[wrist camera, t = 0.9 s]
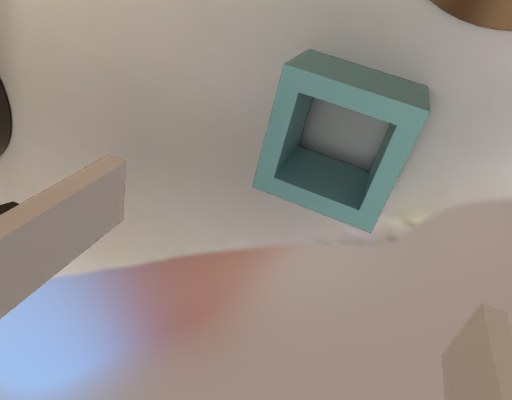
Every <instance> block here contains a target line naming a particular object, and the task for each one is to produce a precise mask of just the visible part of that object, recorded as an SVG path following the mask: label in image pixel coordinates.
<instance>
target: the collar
mask: <svg viewBox="0 0 512 400" xmlns="http://www.w3.org/2000/svg"><path fill="white" fill-rule="evenodd" d="M313 97H314V98H317V99H320V100H323V101H326V102H329V103H332V104H335V105H338V106H341V107H344V108H347V109H350V110H353V111H356V112H359V113H362V114H365V115H368V116H371V117H374V118H377V119H380V120H383V121H385V122H388V123H390V126H389V128H388V130H387V133H386V135H385V137H384V140H383V142H382V144H381V146H380V149H379V151H378V153H377V156H376V158H375V160H374V163H373V165H372V167H371V169H370V172H368V171H366V170H363V169H360V168H357V167H355V166H352V165H349V164H346V163H344V162H341V161H338V160H335V159H333V158H330V157H327V156H324V155H322V154H319V153H316V152H313V151H311V150H308V149H305V148H302V147H299V146H298V143H299V140H300V137H301V134H302V130H303V127H304V124H305V121H306V117H307V114H308V111H309V108H310V105H311V101H312V98H313ZM429 113H430V106H429V95H428V86H424V85H421V84H418V83H415V82H412V81H409V80H405V79H402V78H399V77H396V76H393V75H389V74H386V73H383V72H380V71H377V70H374V69H370V68H367V67H364V66H361V65H358V64H354V63H351V62H348V61H345V60H342V59H339V58H335V57H332V56H329V55H326V54H323V53H320V52H316V51H313V50H310V49H309V50H307V51H305V52H303V53H302V54H300V55H298V56H297V57H295V58H293V59H292V60H290V61H288V62H286V63H285V64H284V66H283V69H282V73H281V77H280V81H279V85H278V89H277V93H276V97H275V100H274V104H273V108H272V112H271V116H270V120H269V124H268V128H267V131H266V135H265V139H264V143H263V147H262V151H261V155H260V158H259V162H258V166H257V170H256V174H255V178H254V182H253V186H252V187H254V188H256V189H259V190H261V191H264V192H266V193H269V194H272V195H274V196H277V197H279V198H282V199H284V200H287V201H289V202H292V203H295V204H297V205H300V206H302V207H305V208H307V209H310V210H313V211H315V212H318V213H320V214H323V215H325V216H328V217H330V218H333V219H336V220H338V221H341V222H343V223H346V224H348V225H351V226H353V227H356V228H359V229H361V230H364V231H366V232H369V233H371V232H372V230H373V228H374V226H375V224H376V222H377V220H378V218H379V216H380V214H381V212H382V210H383V208H384V206H385V203H386V201H387V199H388V197H389V195H390V193H391V191H392V189H393V187H394V185H395V183H396V181H397V179H398V177H399V175H400V172H401V170H402V168H403V166H404V164H405V162H406V160H407V158H408V156H409V154H410V152H411V150H412V148H413V146H414V144H415V141H416V139H417V137H418V135H419V133H420V131H421V129H422V127H423V125H424V123H425V121H426V119H427V117H428V115H429Z"/></svg>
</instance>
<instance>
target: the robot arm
mask: <svg viewBox="0 0 512 400" xmlns="http://www.w3.org/2000/svg"><path fill="white" fill-rule="evenodd" d="M9 136H10V113H9V107H8V103H7V99H6V96H5V93H4V90H3V87H2V85H1V83H0V155H1V154H2V152H3V151H4V150H5V148H6V146H7V144H8V141H9ZM125 173H126V161H123V160H121V159H118V158H116V157H113V156H110V155H107V156H106V157H104V158H102V159H100V160H98V161H97V162H95V163H93V164H91V165H89V166H88V167H86V168H84V169H82V170H80V171H79V172H77V173H75V174H73V175H71V176H70V177H68V178H66V179H64V180H62V181H61V182H59V183H57V184H55V185H53V186H52V187H50V188H48V189H46V190H44V191H43V192H41V193H39V194H37V195H35V196H34V197H32V198H30V199H28V200H26V201H25V202H23V203H21V204H18V203H16V202H10V203H6V204H2V205H0V319H1V318H2V317H3V316H5V315H6V314H7V313H8V312H9V311H10V310H12V309H13V308H14V307H16V306H17V305H18V304H19V303H21V302H22V301H23V300H24V299H26V298H27V297H28V296H29V295H31V294H32V293H33V292H34V291H36V290H37V289H38V288H39V287H40V286H42V285H43V284H44V283H45V282H47V281H48V280H49V279H50V278H52V277H53V276H54V275H55V274H57V273H58V272H59V271H60V270H62V269H63V268H64V267H65V266H67V265H68V264H69V263H70V262H72V261H73V260H74V259H75V258H77V257H78V256H79V255H80V254H81V253H83V252H84V251H85V250H86V249H88V248H89V247H90V246H91V245H93V244H94V243H95V242H96V241H98V240H99V239H100V238H101V237H103V236H104V235H105V234H106V233H108V232H109V231H110V230H111V229H113V228H114V227H115V226H116V225H117V224H119V223H120V222H121V221H122V220H123V213H124V193H125ZM442 367H443V382H444V396H445V400H512V329H511V326H510V322H509V318H508V314H507V312H506V311H504V310H501V309H498V308H496V307H493V306H491V305H488V304H486V303H483V302H482V303H481V304H480V306H479V307H478V308H477V309H476V311H475V312H474V313H473V315H472V316H471V317H470V318H469V320H468V321H467V322H466V324H465V325H464V326H463V328H462V329H461V330H460V332H459V333H458V334H457V336H456V337H455V338H454V340H453V341H452V342H451V344H450V345H449V346H448V348H447V349H446V350H445V352H444V353H443V354H442Z"/></svg>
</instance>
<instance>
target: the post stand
mask: <svg viewBox="0 0 512 400" xmlns="http://www.w3.org/2000/svg"><path fill="white" fill-rule="evenodd" d="M431 1H432V2H433V3H435V4H436V5H437V6H438V7H440V8H441V9H442V10H444V11H446V12H448V13H449V14H451V15H453V16H455V17H457V18H459V19H461V20H463V21H466V22H469V23H472V24H475V25H477V26H482V27H487V28H491V29H496V30H507V31H512V0H431Z"/></svg>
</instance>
